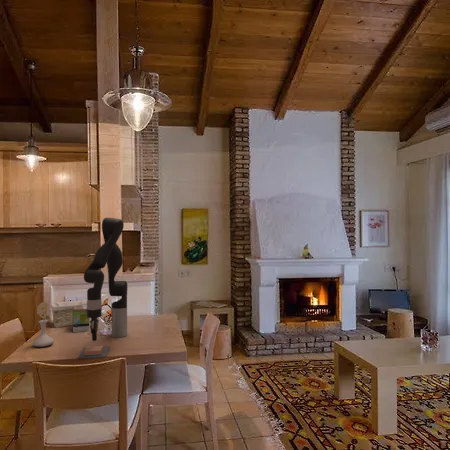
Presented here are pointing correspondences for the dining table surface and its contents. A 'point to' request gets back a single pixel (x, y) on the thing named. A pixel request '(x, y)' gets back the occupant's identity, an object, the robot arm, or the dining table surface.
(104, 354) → the mat
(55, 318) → the storage basket
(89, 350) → the tile
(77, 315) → the tea box
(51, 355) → the dining table surface
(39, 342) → the flower in vase
